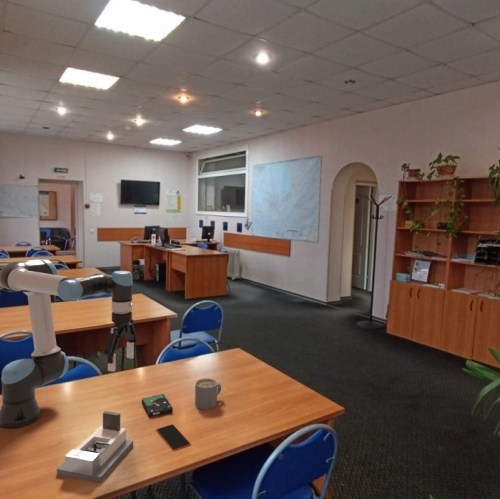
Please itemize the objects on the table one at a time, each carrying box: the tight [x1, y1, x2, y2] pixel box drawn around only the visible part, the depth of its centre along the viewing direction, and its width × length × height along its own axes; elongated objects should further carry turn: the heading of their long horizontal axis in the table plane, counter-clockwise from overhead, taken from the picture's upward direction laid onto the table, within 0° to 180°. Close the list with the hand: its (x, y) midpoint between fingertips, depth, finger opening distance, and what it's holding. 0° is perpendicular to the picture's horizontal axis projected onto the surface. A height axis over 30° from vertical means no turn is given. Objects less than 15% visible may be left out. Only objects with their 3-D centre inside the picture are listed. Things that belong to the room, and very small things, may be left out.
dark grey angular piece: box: [86, 441, 109, 453], centre depth 136 cm, size 8×2×5 cm, turn 78°
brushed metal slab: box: [64, 448, 99, 476], centre depth 129 cm, size 10×4×5 cm, turn 78°
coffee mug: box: [194, 377, 222, 410], centre depth 181 cm, size 13×10×10 cm
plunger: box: [94, 410, 121, 448], centre depth 143 cm, size 6×7×10 cm
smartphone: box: [155, 423, 192, 452], centre depth 153 cm, size 8×17×1 cm, turn 35°
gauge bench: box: [56, 424, 134, 484], centre depth 138 cm, size 16×21×6 cm
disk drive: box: [141, 393, 174, 419], centre depth 175 cm, size 10×3×15 cm
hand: (121, 364), depth 155 cm, fingers open, 13 cm apart
